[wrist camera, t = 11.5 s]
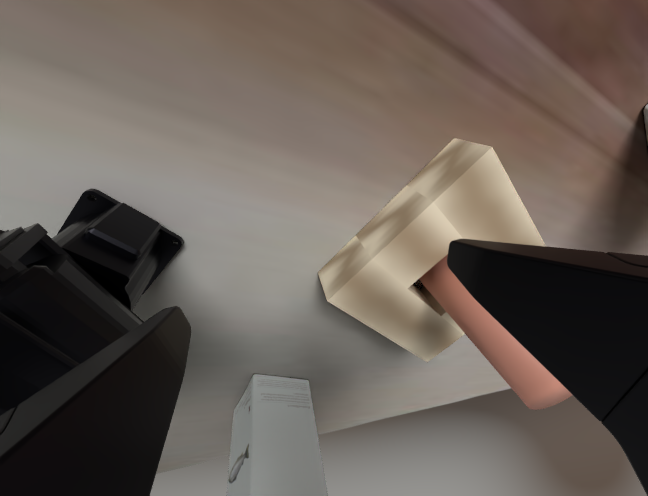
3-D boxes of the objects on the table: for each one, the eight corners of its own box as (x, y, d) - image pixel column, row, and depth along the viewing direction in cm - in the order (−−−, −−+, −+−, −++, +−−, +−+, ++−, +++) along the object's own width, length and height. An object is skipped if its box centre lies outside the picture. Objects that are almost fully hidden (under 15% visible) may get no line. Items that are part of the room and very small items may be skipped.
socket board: (409, 334, 32) (427, 362, 29) (317, 272, 25) (327, 301, 21) (521, 244, 29) (556, 265, 25) (454, 138, 21) (492, 146, 17)
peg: (414, 279, 28) (528, 417, 16) (403, 253, 26) (525, 390, 14) (448, 261, 27) (590, 387, 16) (439, 233, 25) (596, 355, 14)
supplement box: (252, 371, 30) (249, 527, 19) (310, 378, 33) (335, 516, 22) (231, 409, 32) (218, 564, 22) (286, 413, 35) (298, 550, 25)
